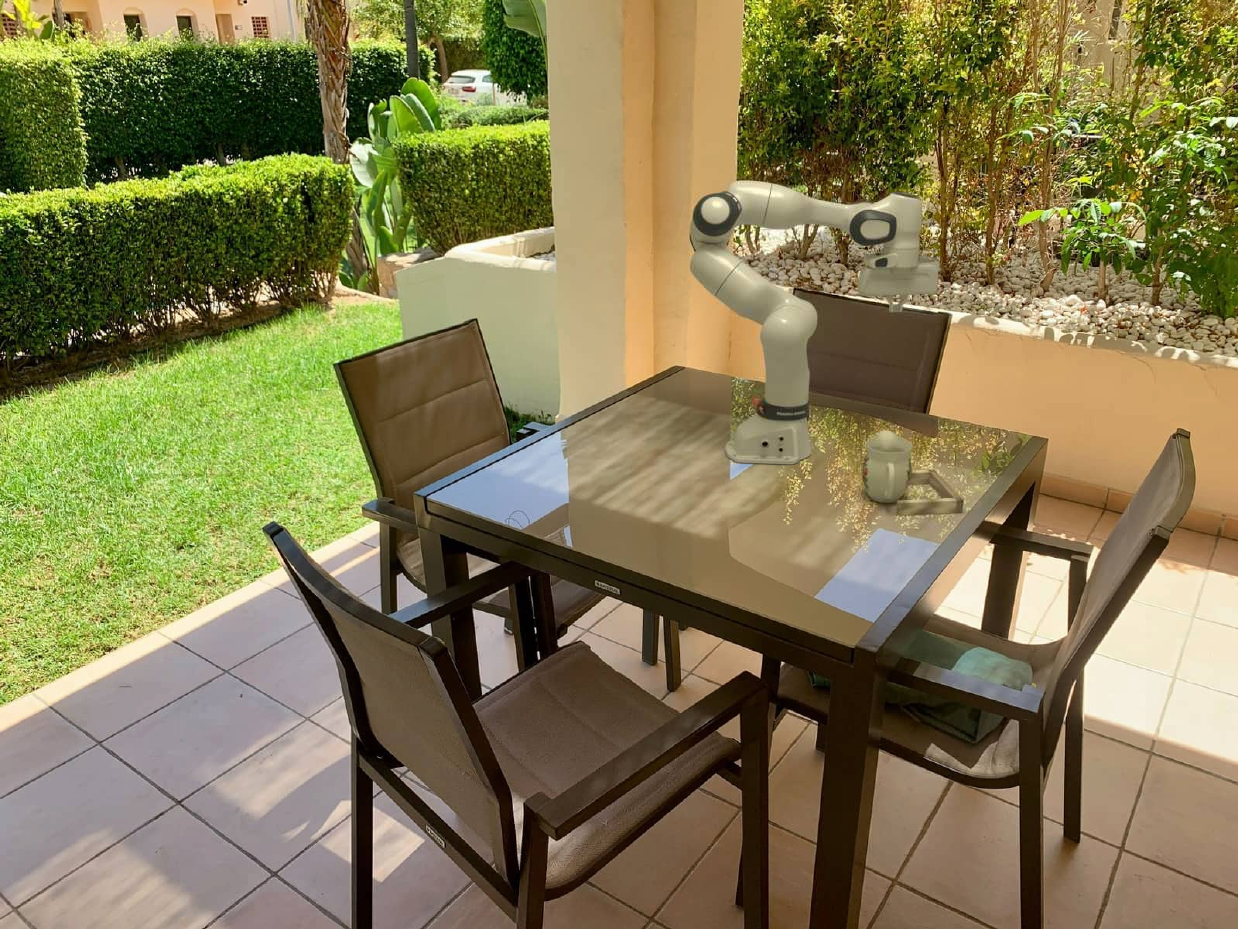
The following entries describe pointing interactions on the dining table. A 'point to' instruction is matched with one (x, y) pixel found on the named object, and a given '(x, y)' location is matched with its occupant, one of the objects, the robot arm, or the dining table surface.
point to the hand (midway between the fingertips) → (895, 311)
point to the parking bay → (931, 506)
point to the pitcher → (886, 467)
